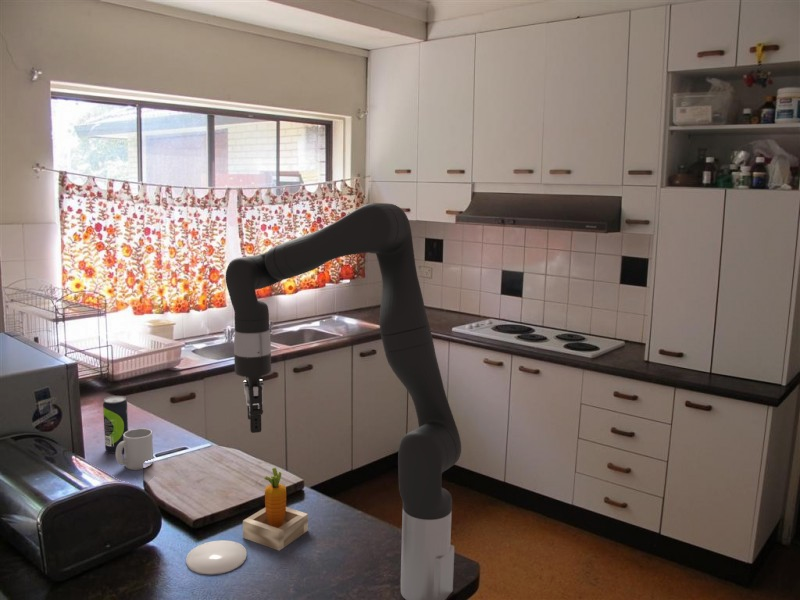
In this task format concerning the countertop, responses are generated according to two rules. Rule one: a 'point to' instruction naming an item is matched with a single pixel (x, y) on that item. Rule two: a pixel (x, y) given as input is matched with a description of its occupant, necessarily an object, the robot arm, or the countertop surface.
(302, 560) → the countertop surface
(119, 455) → the cup
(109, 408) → the beverage can
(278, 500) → the carrot
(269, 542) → the pocket frame
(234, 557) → the domed disc
